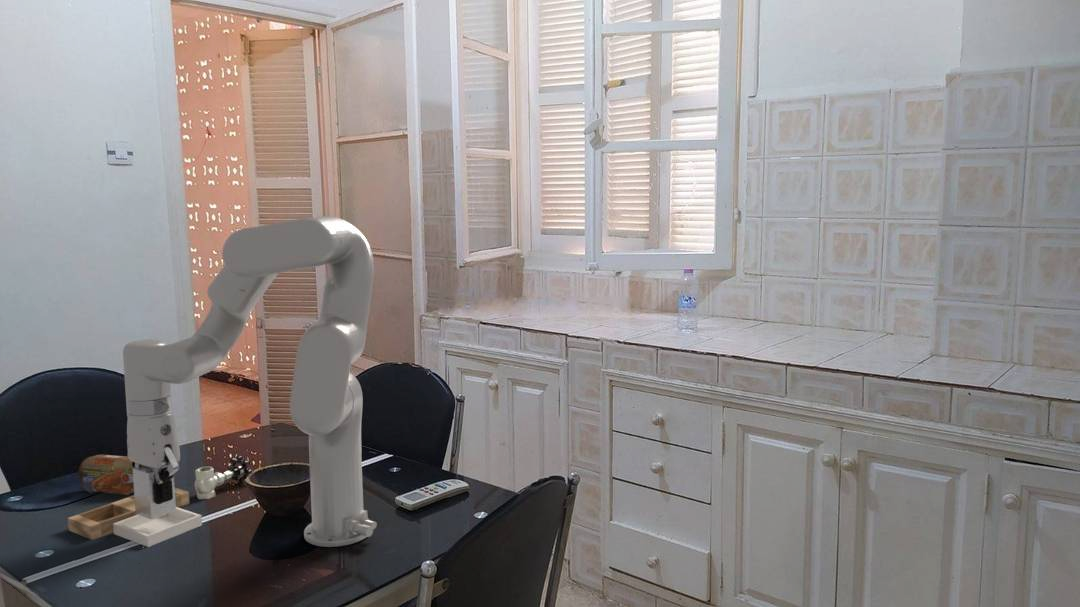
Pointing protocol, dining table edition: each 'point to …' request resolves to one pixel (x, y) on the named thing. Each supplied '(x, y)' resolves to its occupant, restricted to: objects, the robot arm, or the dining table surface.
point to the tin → (107, 474)
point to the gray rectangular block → (149, 494)
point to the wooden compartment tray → (111, 516)
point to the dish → (157, 527)
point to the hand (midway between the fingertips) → (155, 497)
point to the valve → (219, 477)
